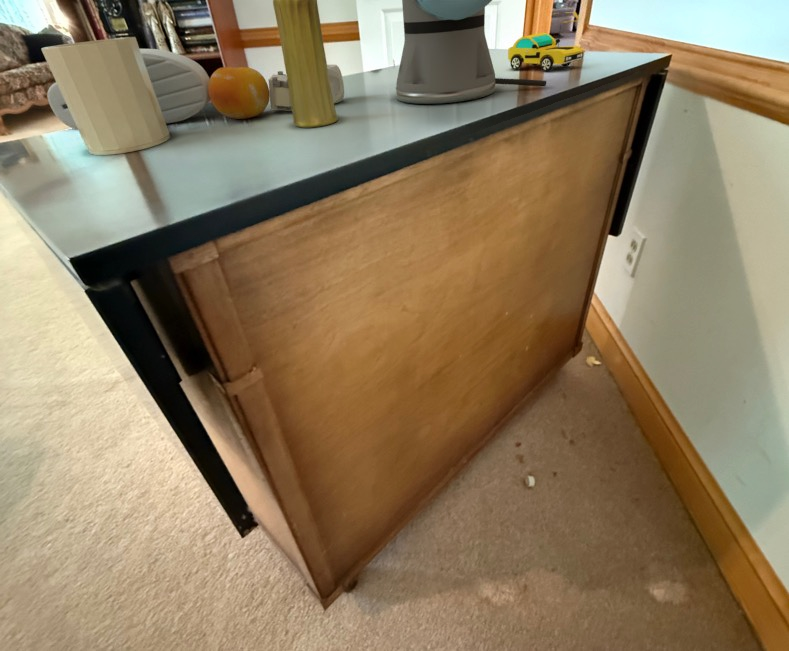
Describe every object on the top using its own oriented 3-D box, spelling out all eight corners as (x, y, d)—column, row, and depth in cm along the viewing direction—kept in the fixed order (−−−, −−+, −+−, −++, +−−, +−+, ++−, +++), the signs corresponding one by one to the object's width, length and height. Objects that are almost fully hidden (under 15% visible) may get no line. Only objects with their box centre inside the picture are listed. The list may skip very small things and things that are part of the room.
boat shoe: (183, 44, 64) (218, 31, 72) (21, 66, 71) (69, 52, 79) (211, 122, 71) (241, 102, 78) (61, 135, 78) (101, 116, 85)
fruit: (281, 88, 67) (243, 38, 65) (235, 123, 66) (194, 72, 64) (277, 109, 75) (243, 65, 73) (235, 140, 74) (199, 95, 72)
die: (308, 102, 77) (302, 67, 74) (337, 97, 78) (333, 63, 75) (315, 106, 73) (309, 70, 70) (346, 101, 74) (341, 66, 71)
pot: (180, 130, 68) (148, 34, 61) (154, 150, 60) (112, 41, 53) (110, 138, 68) (70, 43, 61) (74, 158, 60) (22, 51, 53)
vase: (315, 116, 68) (294, -3, 60) (347, 118, 65) (329, -7, 57) (285, 126, 64) (258, 0, 56) (318, 129, 61) (294, -4, 53)
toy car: (503, 70, 87) (506, 17, 82) (529, 64, 90) (533, 12, 86) (559, 73, 79) (565, 14, 74) (585, 66, 83) (593, 9, 78)
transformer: (291, 90, 87) (318, 93, 88) (270, 120, 72) (302, 123, 72) (289, 54, 84) (317, 57, 84) (266, 77, 68) (301, 81, 69)
